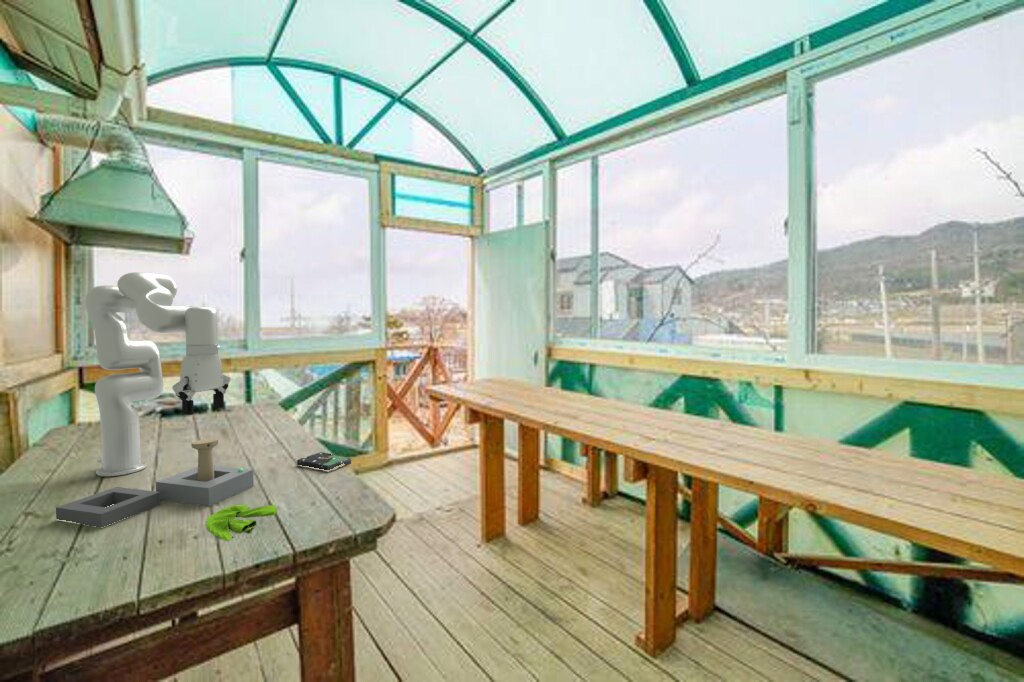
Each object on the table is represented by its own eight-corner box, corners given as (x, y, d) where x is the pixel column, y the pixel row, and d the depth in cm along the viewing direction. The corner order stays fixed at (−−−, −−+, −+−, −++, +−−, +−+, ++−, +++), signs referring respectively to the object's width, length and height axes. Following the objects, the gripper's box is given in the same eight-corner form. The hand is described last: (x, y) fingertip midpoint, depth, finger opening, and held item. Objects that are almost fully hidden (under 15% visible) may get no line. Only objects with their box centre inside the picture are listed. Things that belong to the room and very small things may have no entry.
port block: (156, 499, 126) (155, 478, 126) (204, 480, 140) (204, 462, 140) (209, 506, 122) (208, 485, 121) (253, 486, 136) (253, 467, 136)
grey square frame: (56, 521, 112) (55, 507, 112) (117, 499, 126) (117, 486, 126) (102, 528, 109) (101, 514, 109) (160, 504, 122) (159, 492, 122)
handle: (222, 491, 132) (221, 440, 131) (196, 498, 127) (195, 445, 126) (215, 487, 135) (214, 437, 134) (190, 493, 130) (188, 442, 129)
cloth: (228, 505, 124) (228, 496, 124) (307, 506, 123) (307, 498, 123) (170, 542, 104) (169, 532, 103) (264, 544, 103) (264, 534, 103)
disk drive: (296, 468, 154) (328, 473, 148) (296, 459, 154) (328, 465, 148) (320, 459, 164) (352, 464, 158) (320, 451, 164) (351, 456, 158)
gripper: (218, 348, 138) (219, 404, 139) (161, 352, 121) (163, 416, 122) (238, 349, 136) (239, 405, 137) (184, 353, 119) (186, 418, 120)
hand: (203, 410), depth 130 cm, fingers open, 9 cm apart
